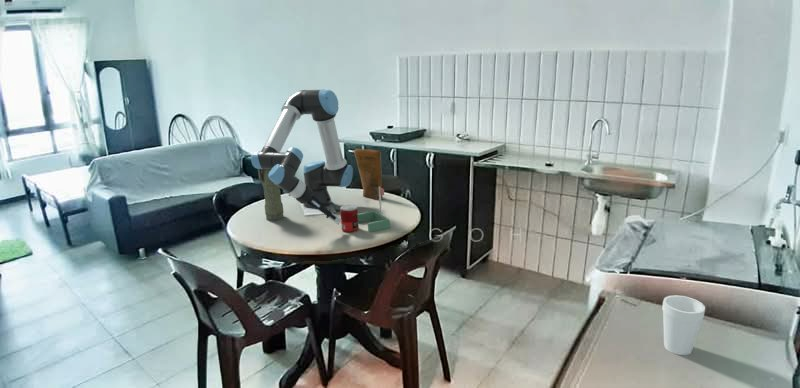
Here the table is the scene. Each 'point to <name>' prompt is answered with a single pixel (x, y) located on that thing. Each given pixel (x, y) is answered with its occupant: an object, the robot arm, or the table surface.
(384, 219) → the green c-shaped bracket
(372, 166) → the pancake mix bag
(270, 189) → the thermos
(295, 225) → the table surface
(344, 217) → the canned food
